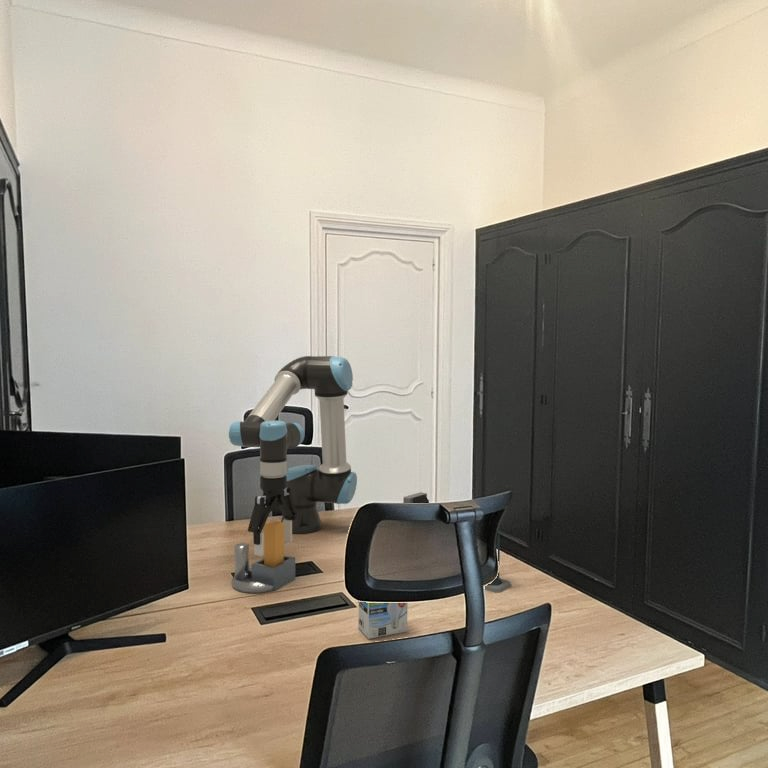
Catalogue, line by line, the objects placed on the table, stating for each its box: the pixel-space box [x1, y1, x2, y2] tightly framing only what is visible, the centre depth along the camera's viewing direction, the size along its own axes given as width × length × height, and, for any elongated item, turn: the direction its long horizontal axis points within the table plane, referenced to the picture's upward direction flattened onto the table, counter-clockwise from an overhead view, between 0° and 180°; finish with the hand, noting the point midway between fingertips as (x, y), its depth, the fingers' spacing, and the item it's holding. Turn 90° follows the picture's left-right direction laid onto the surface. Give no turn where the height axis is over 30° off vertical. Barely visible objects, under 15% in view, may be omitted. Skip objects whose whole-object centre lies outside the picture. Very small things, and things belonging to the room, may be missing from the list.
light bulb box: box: [357, 601, 409, 640], centre depth 154 cm, size 11×7×11 cm, turn 115°
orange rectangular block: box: [263, 520, 285, 567], centre depth 183 cm, size 4×4×16 cm
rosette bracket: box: [231, 542, 296, 595], centre depth 183 cm, size 15×15×11 cm
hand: (273, 548), depth 183 cm, fingers open, 13 cm apart
